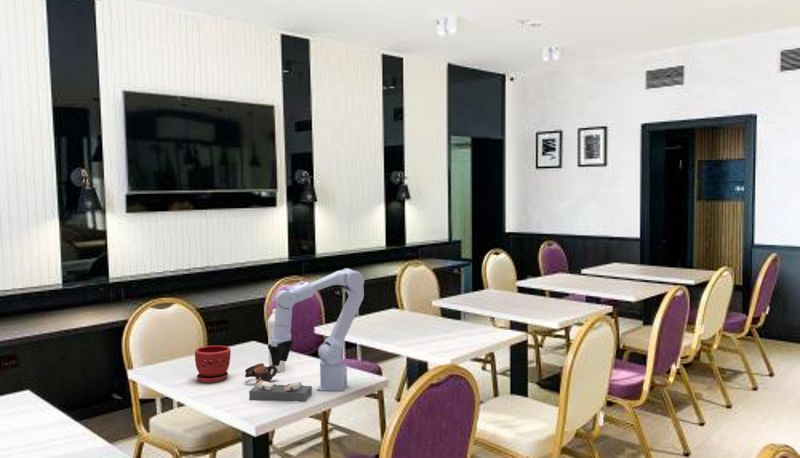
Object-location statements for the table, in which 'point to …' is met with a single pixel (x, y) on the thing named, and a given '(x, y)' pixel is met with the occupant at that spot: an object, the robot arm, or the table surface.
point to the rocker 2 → (292, 386)
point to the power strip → (281, 393)
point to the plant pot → (212, 363)
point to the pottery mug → (261, 372)
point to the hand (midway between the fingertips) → (279, 363)
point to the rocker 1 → (265, 385)
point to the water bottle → (271, 333)
